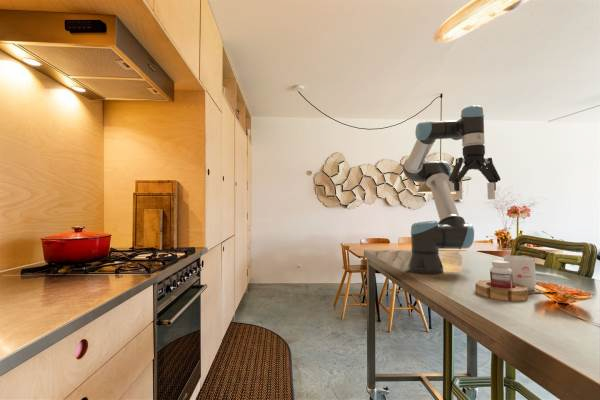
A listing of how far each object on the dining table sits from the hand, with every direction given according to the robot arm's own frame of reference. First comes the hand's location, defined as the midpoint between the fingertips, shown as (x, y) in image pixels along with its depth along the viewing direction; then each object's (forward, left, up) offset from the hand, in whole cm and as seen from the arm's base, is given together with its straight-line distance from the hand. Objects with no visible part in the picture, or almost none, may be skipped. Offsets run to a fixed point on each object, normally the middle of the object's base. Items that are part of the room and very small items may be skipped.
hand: (475, 199), depth 111 cm
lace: (+15, +10, -33) cm, 37 cm away
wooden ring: (+14, -3, -33) cm, 36 cm away
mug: (+8, +8, -33) cm, 35 cm away
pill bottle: (+14, -3, -33) cm, 36 cm away
